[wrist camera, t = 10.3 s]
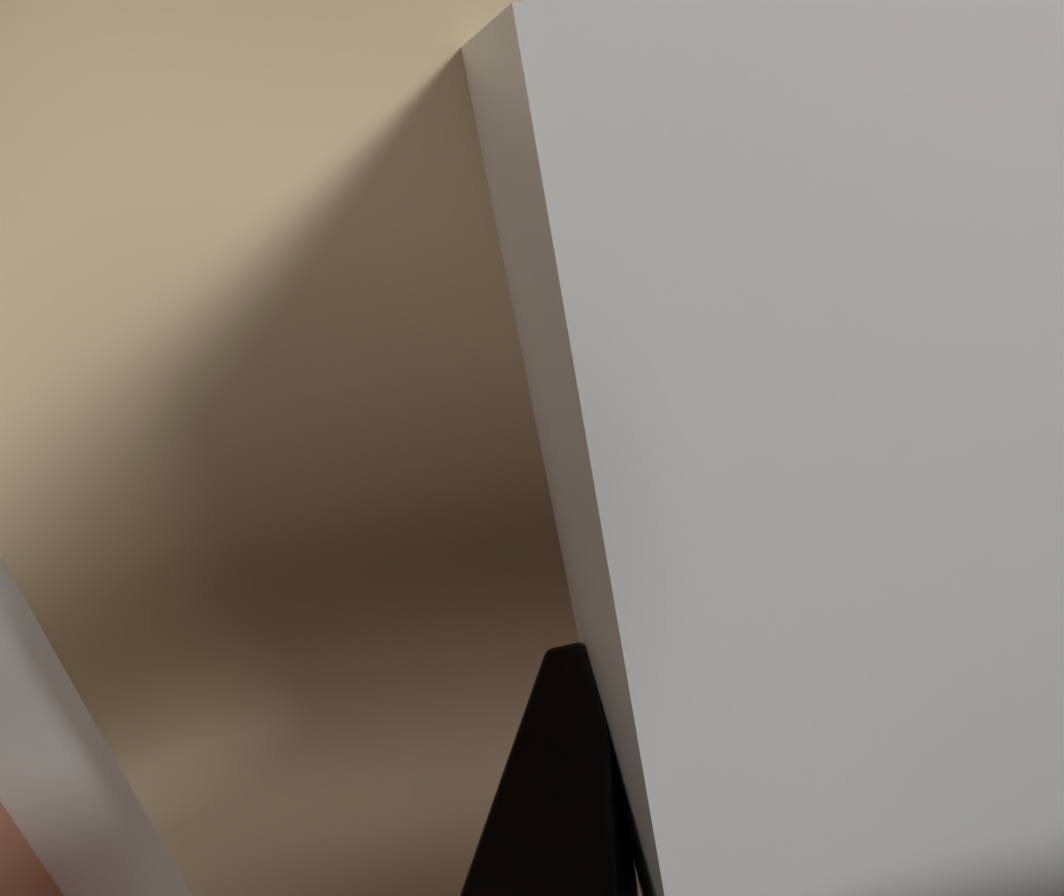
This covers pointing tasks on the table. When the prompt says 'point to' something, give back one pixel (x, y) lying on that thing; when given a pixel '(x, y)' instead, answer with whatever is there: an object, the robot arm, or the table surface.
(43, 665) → the tray
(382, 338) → the board
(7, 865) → the tile
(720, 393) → the long grey plank
